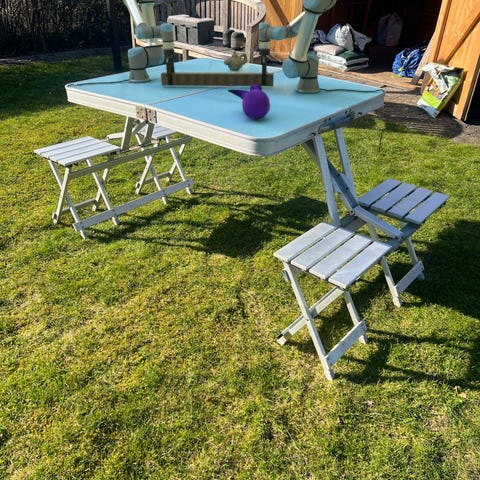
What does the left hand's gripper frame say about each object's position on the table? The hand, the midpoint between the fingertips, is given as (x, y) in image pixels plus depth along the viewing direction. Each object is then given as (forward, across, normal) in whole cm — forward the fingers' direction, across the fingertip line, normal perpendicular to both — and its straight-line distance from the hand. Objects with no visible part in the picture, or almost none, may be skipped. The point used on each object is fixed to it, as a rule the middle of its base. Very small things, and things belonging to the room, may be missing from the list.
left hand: (171, 83), depth 317 cm
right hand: (0, 0, -65) cm, 65 cm away
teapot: (+2, +65, -37) cm, 75 cm away
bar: (+1, 0, -33) cm, 33 cm away
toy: (+2, -74, -63) cm, 97 cm away
